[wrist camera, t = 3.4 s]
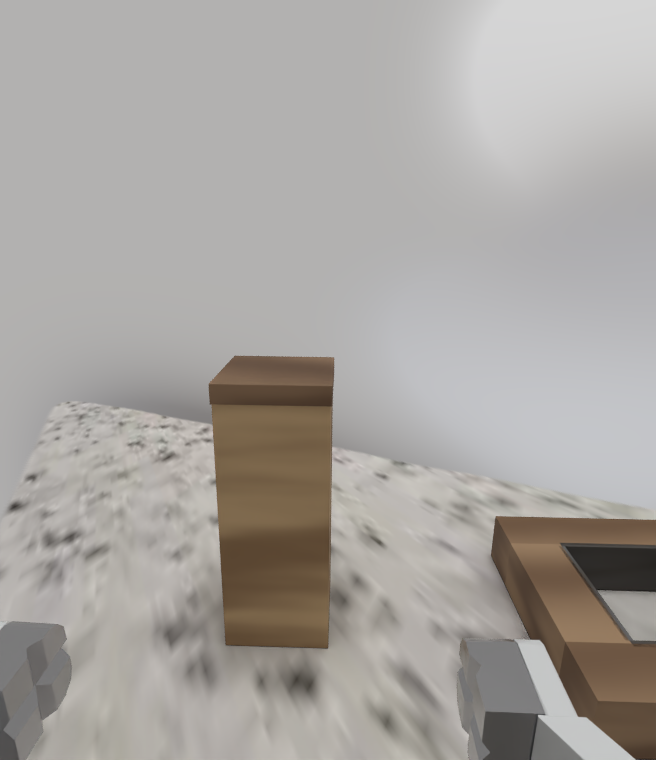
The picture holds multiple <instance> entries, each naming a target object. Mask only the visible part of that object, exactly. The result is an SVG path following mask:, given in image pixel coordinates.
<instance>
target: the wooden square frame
mask: <svg viewBox="0 0 656 760" xmlns="http://www.w3.org/2000/svg"><path fill="white" fill-rule="evenodd" d="M491 556H492V558H493V560H494V562H495V565H496V567H497V569H498V571H499V573H500V575H501V577H502V579H503V581H504V584H505V586H506V588H507V590H508V592H509V594H510V596H511V598H512V600H513V603H514V605H515V607H516V609H517V611H518V613H519V615H520V617H521V620H522V622H523V624H524V626H525V628H526V630H527V632H528V634H529V636H530V639H531V640H540V641H541V642H542V643H543V644H544V646H545V648H546V650H547V652H548V654H549V657H550V659H551V661H552V663H553V665H554V667H555V669H556V671H557V673H558V676H559V678H560V680H561V682H562V684H563V686H564V688H565V690H566V692H567V695H568V697H569V699H570V701H571V703H572V705H573V707H574V709H575V711H576V713H577V716H578V717H587V718H588V719H589V720H590V721H591V722H592V723H594V724H595V725H596V726H597V727H598V728H599V729H601V730H602V731H603V732H604V733H605V734H606V735H608V736H609V737H610V738H611V739H612V740H613V741H615V742H616V743H617V744H618V745H619V746H620V747H622V748H623V749H624V750H625V751H626V752H628V753H629V754H630V755H631V756H632V757H633V758H635V759H655V760H656V641H633V639H632V638H631V637H630V635H629V634H628V633H627V631H626V630H625V628H624V627H623V626H622V624H621V623H620V621H619V620H618V619H617V617H616V616H615V615H614V613H613V612H612V610H611V609H610V608H609V606H608V605H607V604H606V602H605V601H604V599H603V598H602V597H601V595H600V594H599V593H598V591H597V590H596V589H602V590H640V591H656V520H633V519H589V518H546V517H503V516H496V518H495V526H494V535H493V543H492V552H491Z"/></svg>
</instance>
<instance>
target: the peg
mask: <svg viewBox="0 0 656 760" xmlns="http://www.w3.org/2000/svg"><path fill="white" fill-rule="evenodd" d="M333 382H334V358H331V357H275V356H274V357H273V356H271V357H270V356H234V358H232V359H231V360H230V362H229V363H228V364H227V365H226V366H225V367H224V368H223V369H222V370H221V371H220V372H219V373H218V375H217V376H216V377H215V378H214V379H213V380H212V381H211V382H210V383H209V397H210V404H212V421H213V438H214V455H215V471H216V488H217V505H218V522H219V539H220V556H221V573H222V590H223V607H224V624H225V641H226V645H241V646H274V647H308V648H328V631H329V602H330V563H331V485H332V406H333V405H332V404H333Z"/></svg>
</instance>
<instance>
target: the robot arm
mask: <svg viewBox="0 0 656 760" xmlns="http://www.w3.org/2000/svg"><path fill="white" fill-rule="evenodd" d="M66 640H67V638H66V634H65V630H64V626H61V625H58V624H46V623H30V622H15V621H12V622H6V621H0V760H26V759H27V757H28V756H29V754H30V752H31V751H32V749H33V748H34V746H35V744H36V743H37V741H38V740H39V738H40V736H41V735H42V733H43V720H44V719H45V718H46V717H48V716H49V715H50V714H52V713H53V712H55V711H56V710H57V709H58V707H59V706H60V704H61V702H62V701H63V699H64V697H65V696H66V693H67V690H68V687H69V684H70V681H71V672H72V665H71V659H70V656H69V655H68V654H67V653H66V652H65V651H64V650H63V649H62V648H61V647H62V646H63V644H64V643H65V641H66ZM459 655H460V659H461V663H462V668H461V669H460V670H459V671H458V674H457V702H458V708H459V715H460V720H461V724H462V728H463V729H464V730H465V731H466V732H467V733H468V734H469V740H468V756H469V760H636V759H635V758H633V757H632V756H631V755H630V754H629V753H628V752H626V751H625V750H624V749H623V748H622V747H620V746H619V745H618V744H617V743H616V742H615V741H613V740H612V739H611V738H610V737H609V736H608V735H606V734H605V733H604V732H603V731H602V730H601V729H599V728H598V727H597V726H596V725H595V724H594V723H592V722H591V721H590V720H589V719H588V718H587V717H578V716H577V713H576V711H575V709H574V707H573V705H572V703H571V701H570V699H569V697H568V695H567V692H566V690H565V688H564V686H563V684H562V682H561V680H560V678H559V676H558V673H557V671H556V669H555V667H554V665H553V663H552V661H551V659H550V657H549V654H548V652H547V650H546V648H545V646H544V644H543V643H542V642H541V641H540V640H520V639H514V640H511V639H474V638H462V641H461V643H460V652H459Z"/></svg>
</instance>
